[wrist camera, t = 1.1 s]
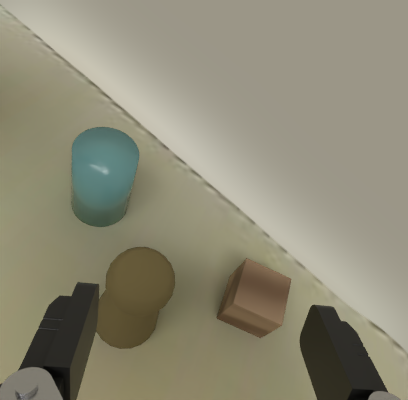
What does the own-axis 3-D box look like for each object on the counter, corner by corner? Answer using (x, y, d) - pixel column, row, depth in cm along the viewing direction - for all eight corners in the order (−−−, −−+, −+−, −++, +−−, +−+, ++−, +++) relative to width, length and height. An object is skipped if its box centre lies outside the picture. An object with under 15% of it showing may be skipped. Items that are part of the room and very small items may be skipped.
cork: (127, 273, 38) (144, 220, 29) (169, 315, 37) (201, 274, 28) (79, 315, 35) (82, 270, 26) (124, 363, 34) (144, 333, 25)
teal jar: (71, 227, 39) (72, 177, 32) (71, 180, 42) (71, 125, 35) (129, 226, 41) (142, 178, 34) (125, 181, 44) (136, 129, 37)
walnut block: (260, 338, 39) (282, 325, 35) (216, 318, 38) (233, 303, 34) (270, 295, 42) (291, 278, 38) (229, 276, 41) (246, 258, 38)
